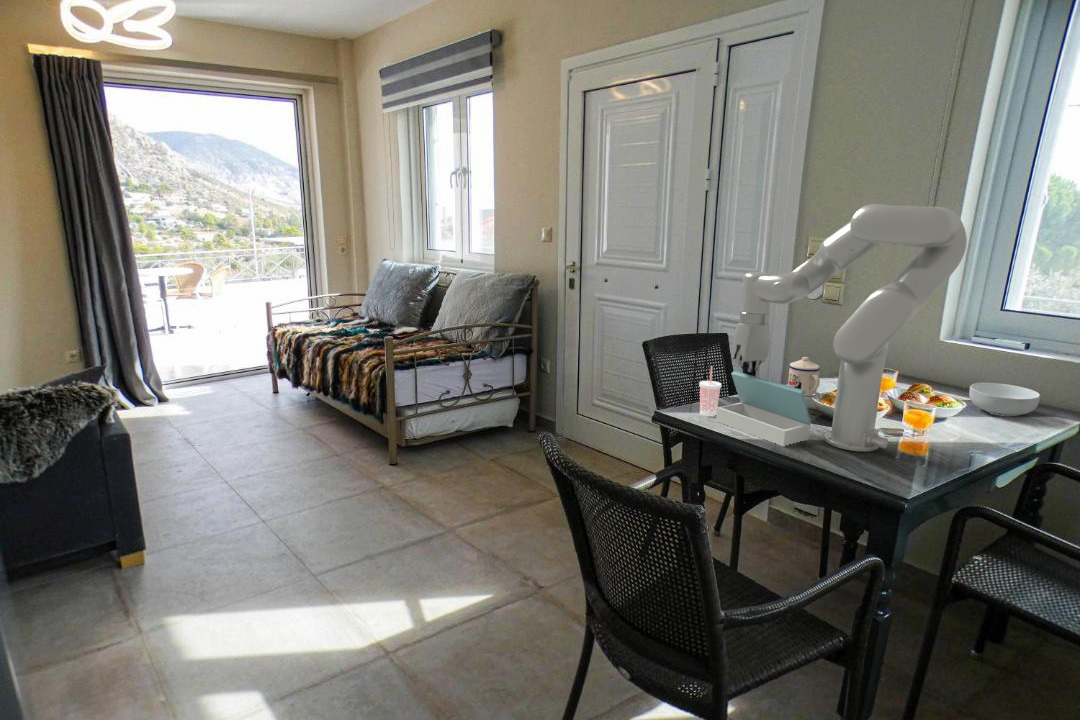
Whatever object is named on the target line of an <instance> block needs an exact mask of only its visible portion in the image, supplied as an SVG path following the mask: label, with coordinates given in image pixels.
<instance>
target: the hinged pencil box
mask: <svg viewBox="0 0 1080 720" xmlns="http://www.w3.org/2000/svg"><path fill="white" fill-rule="evenodd" d="M715 417H716V419H715V422H716V421H717V423H719V422H720V423H719V424H722V425H724V424H725V426H727V425H728V426H727V427H730V428H732V427H733V428H732V429H735V430H738V431H741V432H743V433H747V434H749V435H750V436H751V435H752V436H754V437H756V436H757V438H759V437H760V439H762V440H764V439H765V441H767V440H768V442H769V443H772V442H773V444H775V443H776V444H775V445H778V446H780V447H783V446H784V447H787V446H790V445H789V444H791V445H794V444H798V443H801V442H800V441H802V442H805V441H808V439H809V440H810V435H811V434H810V433H811V424H812V423H811V424H810V425H809V424H806V423H803V422H800V421H797V420H794V419H791V418H788V417H785V416H782V415H779V414H776V413H773V412H769V411H766V410H763V409H760V408H757V407H754V406H751V405H748V404H745V403H742V402H736V403H731V404H727V405H722V406H718V407H717V414H716V416H715ZM804 440H805V441H804ZM797 442H798V443H797ZM793 443H794V444H793ZM786 445H787V446H786Z"/></svg>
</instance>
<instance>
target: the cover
mask: <svg viewBox="0 0 1080 720" xmlns="http://www.w3.org/2000/svg"><path fill="white" fill-rule="evenodd" d="M731 377H732V380H733V383H734V387H735V389H736V392H737V395H738V399H739V401H740V402H742V403H745V404H748V405H751V406H754V407H757V408H760V409H763V410H766V411H769V412H773V413H776V414H779V415H782V416H785V417H788V418H791V419H794V420H797V421H800V422H803V423H806V424H809V425H810V424H812V421H811V418H810V414H809V410H808V407H807V406H808V405H807V404H806V400H805V396H804V395H803V394H804V393H805V392H804V390H801V389H798V388H794V387H790V386H788V384H787V385H786V384H782V383H779V382H776V381H774V380H773V381H772V380H769V379H765V378H761V377H758V376H756V377H755V376H751V375H748V374H744V373H743V372H741V371H736V370H734V371H732V372H731ZM740 402H739V403H740Z"/></svg>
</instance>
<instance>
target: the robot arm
mask: <svg viewBox="0 0 1080 720" xmlns="http://www.w3.org/2000/svg"><path fill="white" fill-rule="evenodd" d="M965 228H966V227H965V226H964V223H963V221H962V219H961V218H960V216H959V215H958V214H957V213H956V212H955V211H954V210H952V209H950V208H947V207H945V206H921V205H919V206H918V205H917V206H915V205H894V204H893V205H891V204H890V205H889V204H883V203H870V204H866V205H864V206H861V207H860V208H859V209H858V210H856V211H855V212H854V213H853V215H852V217H851V219H850V220H849V221H848V222H847V223H845V224H844V225H843V226H842V227H841V228H839V229H837V230H836V231H835V232H833V233H832V234H831V235H829V236H828V237H827V238H825V239H824V240H823V241H822V242H821V243H820V245H819V248H818V249H817V251H816V252H815V253H814V254H813V255H812V256H811V257H810V258H809V259H807V260H806V261H805V262H804V263H802V264H801V265H799V266H798V267H796V268H795V269H794V270H793V271H791V272H786V273H783V274H782V273H781V274H773V275H772V274H771V273H769V272H764V271H749V272H746V273H745V274H744V275H743V277H742V288H741V298H740V299H741V301H740V311H739V312H740V313H739V322H738V323H737V324H736V327H735V332H734V335H733V341H732V346H731V358H732V359H733V360H735V361H734V365H735V366H737V367H741V368H740V369H741V371H742V373H744V374H748V375H751V376H755V377H757V372H758V371H759V367H760V365H761V364H763V363H765V362H766V359H767V358H768V357H769V354H770V353H769V352H770V343H771V330H770V329H771V327H770V315H771V305H772V303H774V304H777V305H786V304H790V303H793V302H796V301H799V300H802V299H803V298H806V297H807V296H808V295H810V294H812V293H813V292H815V291H816V290H817V289H819V288H820V287H822V286H824V285H825V284H826V283H827V282H829V281H830V280H832V279H833V278H834V277H835V276H837V275H839V274H840V273H842V272H843V271H844V270H846V269H847V268H848V267H850V266H851V265H852V264H854V263H855V262H857V261H858V260H859V259H861V258H862V257H864V256H865V255H867V254H868V253H870V252H871V251H873V250H875V249H876V248H878V246H880V245H889V246H890V245H891V246H901V247H902V246H903V247H915V248H920V249H919V251H918V252H917V253H916V254H915V256H914V257H912V259H910V260H909V261H908V263H906V265H905V266H904V268H902V270H901V271H900V272H899V273H898V274H897V275H896V276H895V277H894V278H893V279H892V281H890V282H889V283H888V284H886V285H884V286H881V287H879V288H878V289H876V290H874V291H873V292H871V294H870V295H869V296H868V297H866V299H865V300H864V301H863V302H862V303H861V304H860V305H859V307H857V309H856V310H855V311H854V312H853V313H852V314H851V315H850V316H849V318H847V320H845V322H844V323H843V324H842V325H841V327H840V328H839V329H837V331H836V333H835V335H834V337H833V342H832V344H833V346H832V347H833V351H834V353H835V355H836V356H837V357H838V358H839V359H840V365H839V370H838V378H837V385H836V391H835V392H836V393H835V401H834V408H833V409H834V411H833V417H832V424H831V430H829V431H827V432H825V433H824V435H823V441H825V442H826V443H827V444H829V445H831V446H833V447H834V448H839V449H843V450H847V451H852V452H873V451H876V450H878V449H880V448H882V449H886V448H887V447H888V442H889V439H888V438H887V437H884V436H880V435H879V430H880V429H877V428H875V427H876V421H877V415H878V408H879V407H878V406H879V401H880V393H881V386H882V382H883V381H882V380H883V373H884V367H885V364H886V358H887V354H888V350H889V345H890V340H891V338H892V337H894V335H895V334H897V332H899V330H901V328H902V327H903V326H905V324H907V323H908V322H910V321H911V320H912V319H913V318H915V316H916V315H917V314H918V312H919V311H920V310H921V308H923V307H924V305H925V304H926V303H927V302H928V301H929V299H931V297H933V296H934V295H935V293H936V292H938V290H939V289H940V287H942V286H943V285H944V283H946V281H947V280H948V279H949V278H950V277H951V276H952V274H953V273H954V272H955V271H956V270H957V268H958V267H959V265H960V264H961V262H962V260H963V257H964V255H965V253H966V249H967V239H968V238H967V232H966V229H965Z"/></svg>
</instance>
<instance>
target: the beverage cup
mask: <svg viewBox="0 0 1080 720" xmlns="http://www.w3.org/2000/svg"><path fill="white" fill-rule="evenodd" d="M698 385H699V388H700V389H699V414H700V416H704V417H716V416H715V415H717V407H719V406H718V404H719V400H720V393H721V388H722V383H721V382H720V381H719V382H718V381H715V380H713V365H710V371H709V380H701V381H699V384H698Z"/></svg>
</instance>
